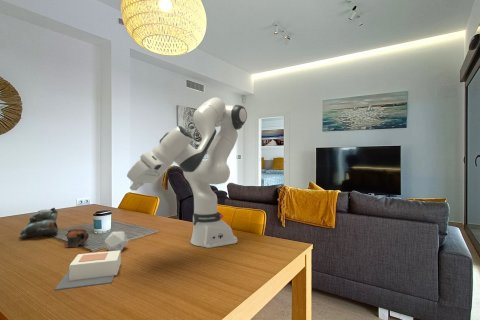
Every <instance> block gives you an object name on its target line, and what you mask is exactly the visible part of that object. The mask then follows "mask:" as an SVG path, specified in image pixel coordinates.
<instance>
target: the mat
mask: <svg viewBox="0 0 480 320" xmlns="http://www.w3.org/2000/svg"><path fill="white" fill-rule="evenodd" d="M114 278H115V275H112V276H104V277H96V278H88V279H79V280H71V281H69V270H68V271H67V273H66V274H64V276H63V277H62V278H61V280H60V282H59V283H58V284H57V285H56V286H55V288H54V291H59V290H60V291H61V290H67V289H74V288H83V287H91V286H99V285H100V286H101V285H106V284H112V283H113V280H114Z"/></svg>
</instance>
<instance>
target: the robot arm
mask: <svg viewBox="0 0 480 320" xmlns="http://www.w3.org/2000/svg"><path fill="white" fill-rule="evenodd" d="M247 118H248V113H247V110H246V108H245V107H244V106H243V105H239V104H235V105H234V104H227V105H226V103H225V102H224V100H223V99H221V98H219V97H212V98H209V99H207V100H206V101H205V102H203V103H202V104H200V106H198V108H197V109H196V110H195V111H194V113H193V116H192V120H193V124H194V127H195V128H196V129H197V131H198V133H199V134H200V137H201V142H200V143H199V145H198V147H197V148H195V147H193V146H192V145H191V142H192V141H193V136H192V134H191V132H190V131H188V129H186V128H184V127H183V126H180V125H177V126H175V127H174V128H173V129H172V130H171V131H169V132H166V133H165V134H164V135H163V136H162V137H161V138H160V139H159V144H158V145H157V146H155V147H154V148H153V149H152V150H151V151H148V152H144V153H142V154H141V155H140V157H139V158H140V159H139V160H137V161H136V162H135V163H134V165H133V166H132V167H131V168H130V169H129V170H128V172H127V174H126V177H127V178H128V179H129V180H130V181H131V183H132V184H131V185H130V187H129V189H130V190H131V191H137V190H138V189H139V188H140V187H142V186H144V185H145V184H155V183H157V182H158V180H159V179H160V178H161V177H162V175H163V174H164V173H166V172H167V170H168V169H169V168H170V167H171V166H172V164H174V163H175V164H176V165H178V166H179V168H180V169H181V170H182V172H183V176H184V178H185V180H187V182H188V183H189V186H190V187H191V191H192V195H193V213H192V225H193V229H192V234H191V238H190V240H189V241H190V244H192V245H193V246H196V247H203V248H206V249H207V248H208V249H211V248H217V247H223V246H228V245H233V244H237V243H238V241H239V240H238V237H237V236H235V235H234V234H233V229H232V227H231V226H230V225H228V223H226V222H225V221H224V220H222V219H224V216H225V215H224V214H223V213H220V212H219V211H218V197H217V196H218V195H217V194H216V193H215V192H214V191H213V190H212V188H211V185H221V184H225V183H226V182H227V181H229V179H230V175H231V170H230V167H229V165H228V164H227V160H228V159H229V157H230V154H231V153H232V150H233V149H234V147H235V145H236V142H237V141H238V136H239V133H238V130H241V129H242V128H243V126H244V125H245V123H246V121H247ZM216 127H217V128H218V127H220V129H219V131H218V133H217V128H216ZM206 153H207V154H208V157H209V158H207V160H204V158H205V155H206Z"/></svg>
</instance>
